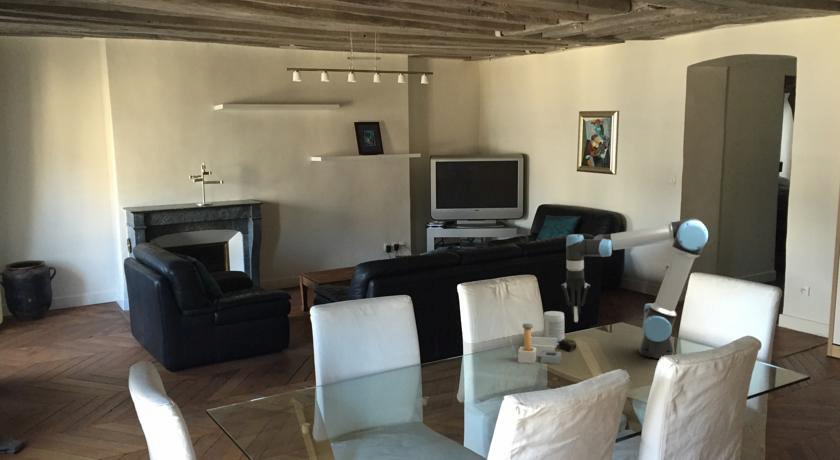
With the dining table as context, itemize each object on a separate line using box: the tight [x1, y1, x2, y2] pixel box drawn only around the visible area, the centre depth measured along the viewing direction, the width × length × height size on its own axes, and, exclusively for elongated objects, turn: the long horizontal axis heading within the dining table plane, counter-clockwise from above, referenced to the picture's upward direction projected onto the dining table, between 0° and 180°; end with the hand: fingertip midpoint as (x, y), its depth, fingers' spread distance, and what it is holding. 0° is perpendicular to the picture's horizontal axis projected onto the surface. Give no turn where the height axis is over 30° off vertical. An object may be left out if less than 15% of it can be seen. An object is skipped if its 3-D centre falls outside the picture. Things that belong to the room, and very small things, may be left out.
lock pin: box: [522, 323, 534, 351], centre depth 313 cm, size 4×4×16 cm
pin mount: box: [540, 351, 562, 365], centre depth 313 cm, size 8×8×3 cm
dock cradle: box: [531, 335, 558, 357], centre depth 326 cm, size 13×14×5 cm
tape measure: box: [558, 338, 577, 352], centre depth 329 cm, size 7×7×4 cm
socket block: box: [517, 346, 537, 364], centre depth 314 cm, size 7×7×5 cm
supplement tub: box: [543, 310, 565, 345], centre depth 338 cm, size 10×10×15 cm
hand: (576, 321), depth 323 cm, fingers closed
